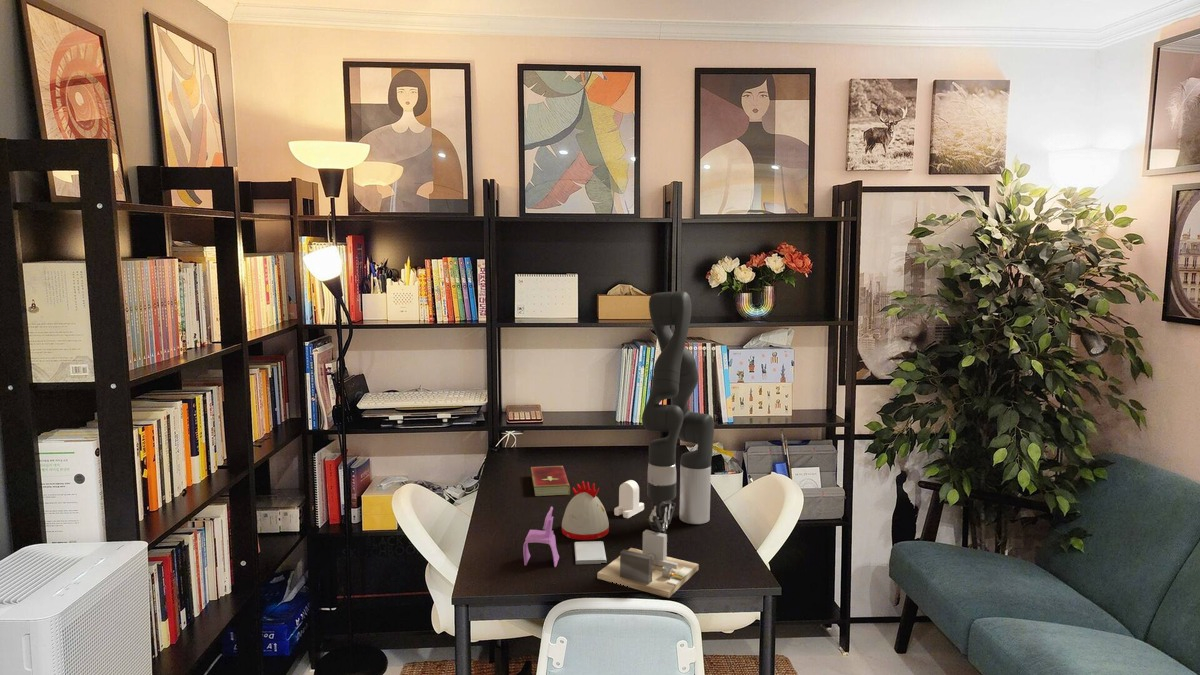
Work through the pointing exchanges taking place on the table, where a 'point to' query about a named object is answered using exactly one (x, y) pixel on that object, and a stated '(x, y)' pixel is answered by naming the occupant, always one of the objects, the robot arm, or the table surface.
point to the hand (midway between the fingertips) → (660, 542)
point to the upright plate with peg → (657, 548)
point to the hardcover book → (550, 481)
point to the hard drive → (590, 552)
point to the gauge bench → (656, 576)
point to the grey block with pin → (669, 572)
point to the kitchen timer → (585, 515)
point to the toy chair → (542, 538)
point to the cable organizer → (628, 500)
